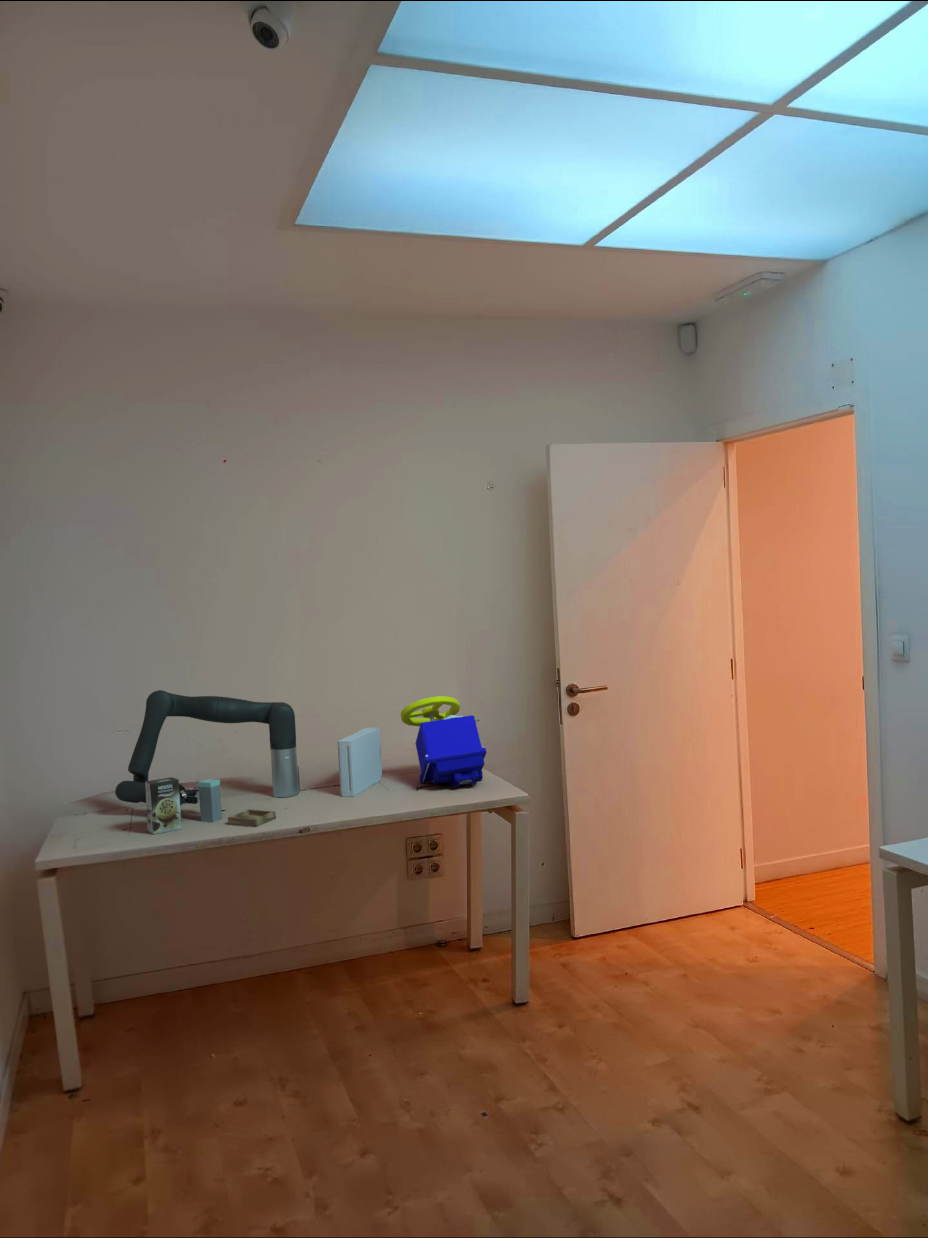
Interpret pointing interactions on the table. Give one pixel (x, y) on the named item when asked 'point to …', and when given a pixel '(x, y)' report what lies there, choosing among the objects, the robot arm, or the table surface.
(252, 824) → the tray
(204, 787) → the teal box
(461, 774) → the valve actuator
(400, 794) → the table surface
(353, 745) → the game console
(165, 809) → the coffee box
